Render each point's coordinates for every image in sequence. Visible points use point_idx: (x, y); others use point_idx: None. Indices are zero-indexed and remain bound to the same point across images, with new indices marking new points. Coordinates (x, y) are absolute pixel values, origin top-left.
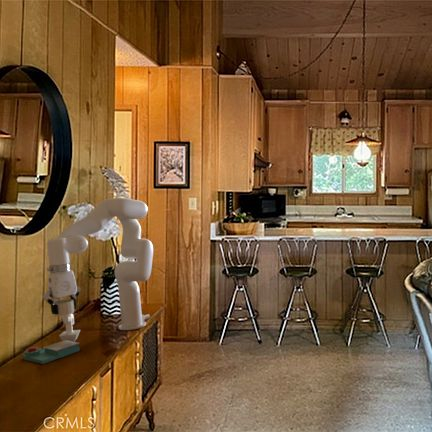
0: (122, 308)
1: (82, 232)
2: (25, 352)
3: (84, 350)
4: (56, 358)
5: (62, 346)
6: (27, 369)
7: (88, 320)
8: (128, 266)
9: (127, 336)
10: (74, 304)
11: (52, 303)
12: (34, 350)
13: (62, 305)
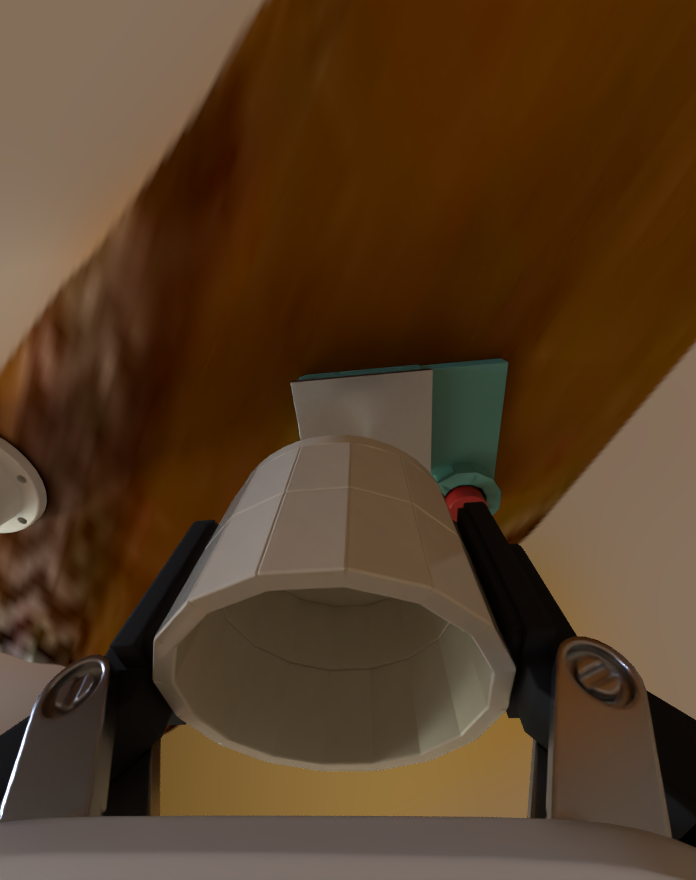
0: None
1: None
2: (497, 504)
3: (280, 359)
4: (426, 366)
5: (375, 410)
6: (577, 354)
7: None
8: None
9: (32, 357)
10: (184, 571)
11: (638, 689)
12: (468, 489)
13: (437, 557)
